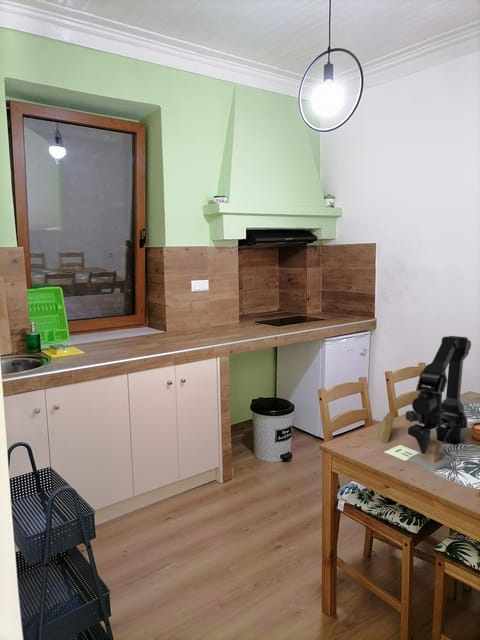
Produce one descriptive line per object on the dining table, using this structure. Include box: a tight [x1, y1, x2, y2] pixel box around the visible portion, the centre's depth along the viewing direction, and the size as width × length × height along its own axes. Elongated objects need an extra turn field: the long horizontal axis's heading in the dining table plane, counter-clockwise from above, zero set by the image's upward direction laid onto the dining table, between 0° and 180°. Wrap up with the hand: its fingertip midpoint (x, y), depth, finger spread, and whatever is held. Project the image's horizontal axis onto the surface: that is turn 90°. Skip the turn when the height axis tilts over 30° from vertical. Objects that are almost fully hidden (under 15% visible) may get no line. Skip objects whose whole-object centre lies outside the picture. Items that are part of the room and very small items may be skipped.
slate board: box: [408, 451, 455, 472], centre depth 157 cm, size 11×10×1 cm
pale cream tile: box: [384, 444, 421, 462], centre depth 164 cm, size 9×9×1 cm
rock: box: [378, 411, 396, 444], centre depth 177 cm, size 11×9×10 cm
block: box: [420, 437, 444, 463], centre depth 156 cm, size 5×5×6 cm
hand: (431, 450), depth 156 cm, fingers open, 9 cm apart
